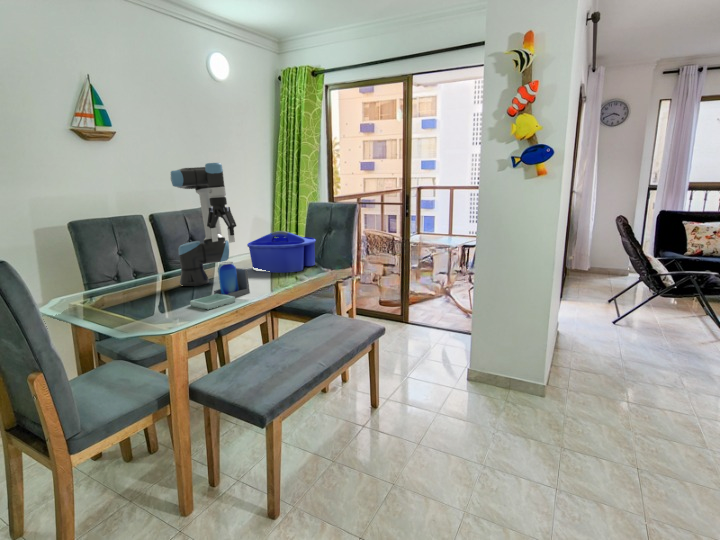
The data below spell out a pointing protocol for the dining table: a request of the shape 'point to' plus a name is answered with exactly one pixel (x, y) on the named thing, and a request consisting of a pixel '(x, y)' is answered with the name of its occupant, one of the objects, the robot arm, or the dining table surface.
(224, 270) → the beer can
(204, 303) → the tray
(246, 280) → the bay
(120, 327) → the dining table surface
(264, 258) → the caddy
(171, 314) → the dining table surface
